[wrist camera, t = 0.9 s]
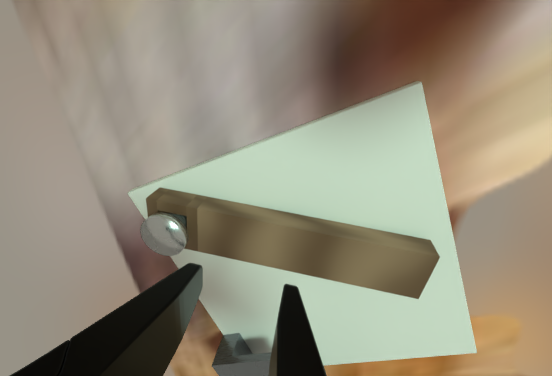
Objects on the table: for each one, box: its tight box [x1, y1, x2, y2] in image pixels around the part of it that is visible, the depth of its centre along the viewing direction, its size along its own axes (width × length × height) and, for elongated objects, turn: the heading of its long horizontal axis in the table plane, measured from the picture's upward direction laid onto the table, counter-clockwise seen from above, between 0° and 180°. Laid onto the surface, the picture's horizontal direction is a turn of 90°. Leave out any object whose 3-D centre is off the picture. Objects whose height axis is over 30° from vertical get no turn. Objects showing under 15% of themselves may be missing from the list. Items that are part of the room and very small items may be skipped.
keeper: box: [212, 333, 271, 376], centre depth 26 cm, size 4×6×3 cm, turn 113°
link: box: [146, 187, 440, 299], centre depth 20 cm, size 20×4×2 cm, turn 83°
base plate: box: [128, 81, 477, 365], centre depth 21 cm, size 23×22×4 cm
